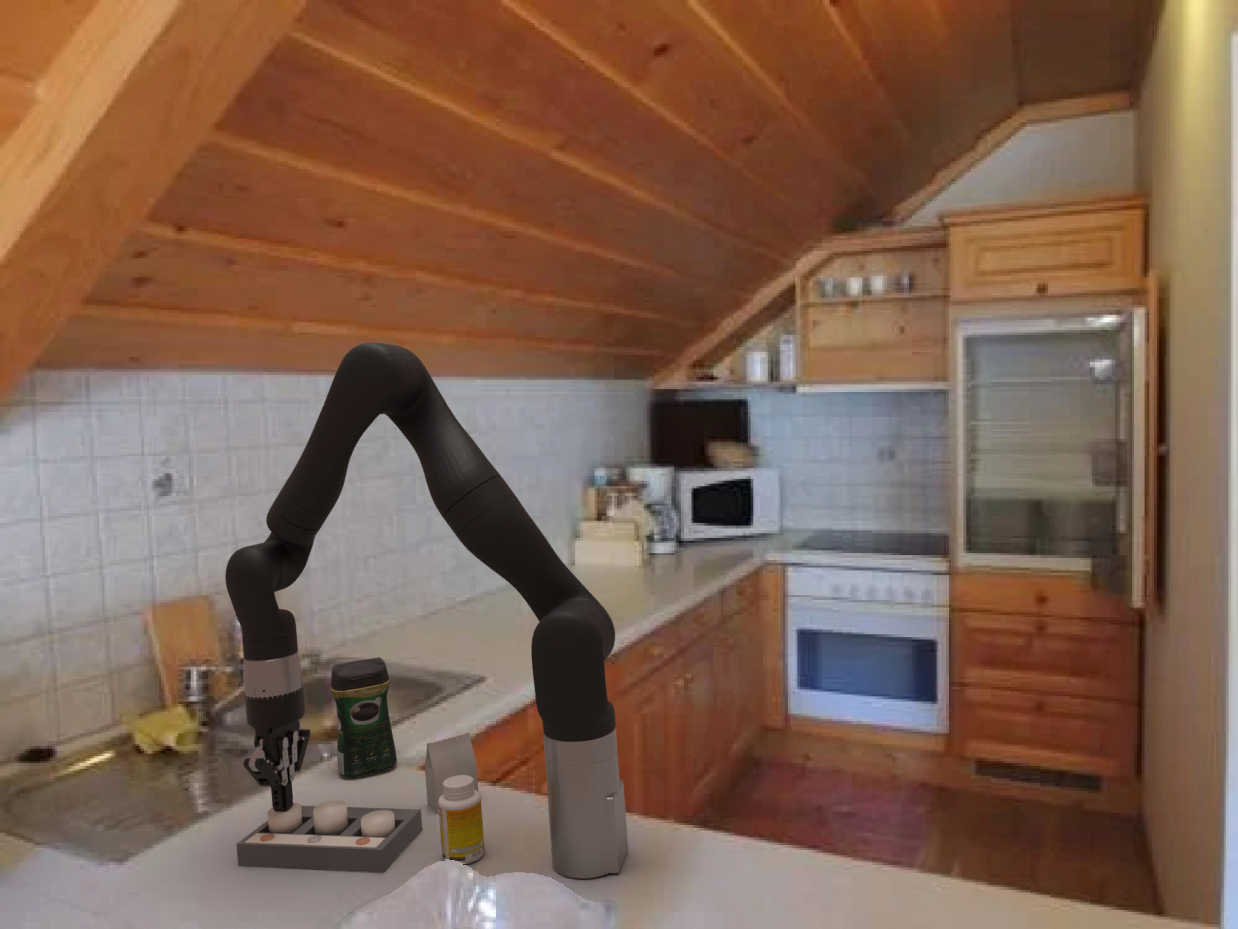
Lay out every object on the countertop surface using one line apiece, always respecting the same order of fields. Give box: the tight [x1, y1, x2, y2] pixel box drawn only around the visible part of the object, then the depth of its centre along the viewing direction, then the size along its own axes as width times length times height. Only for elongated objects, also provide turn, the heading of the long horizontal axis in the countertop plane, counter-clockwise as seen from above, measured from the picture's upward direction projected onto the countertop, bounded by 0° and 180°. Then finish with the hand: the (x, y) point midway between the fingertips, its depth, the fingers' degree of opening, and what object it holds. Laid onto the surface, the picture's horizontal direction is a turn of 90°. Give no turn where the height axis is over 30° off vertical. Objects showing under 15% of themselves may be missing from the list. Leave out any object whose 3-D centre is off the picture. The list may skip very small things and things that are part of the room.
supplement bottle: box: [438, 775, 485, 865], centre depth 119 cm, size 6×6×10 cm
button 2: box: [361, 810, 395, 837], centre depth 123 cm, size 4×4×3 cm
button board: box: [236, 805, 423, 873], centre depth 124 cm, size 21×12×3 cm, turn 78°
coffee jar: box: [330, 657, 398, 779], centre depth 152 cm, size 10×8×19 cm
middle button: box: [313, 800, 348, 835], centre depth 124 cm, size 4×4×3 cm
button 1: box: [266, 802, 303, 834], centre depth 125 cm, size 4×4×3 cm
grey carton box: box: [424, 732, 480, 815], centre depth 136 cm, size 4×7×10 cm, turn 124°
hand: (283, 809), depth 125 cm, fingers closed
